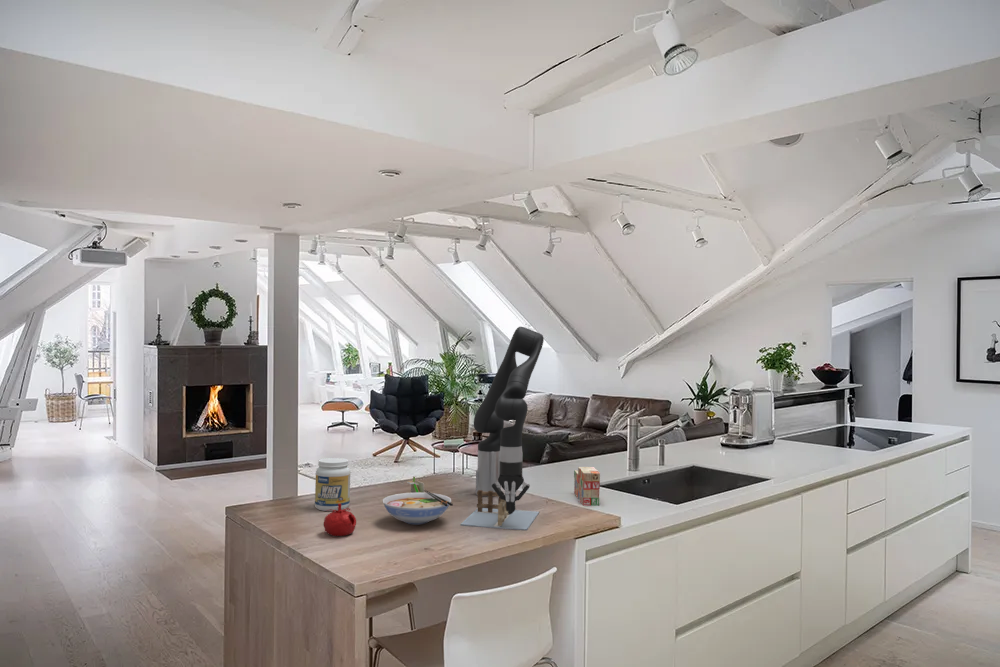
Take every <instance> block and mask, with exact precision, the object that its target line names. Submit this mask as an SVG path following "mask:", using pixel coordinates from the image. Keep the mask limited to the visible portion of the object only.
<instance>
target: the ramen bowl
mask: <svg viewBox="0 0 1000 667" xmlns="http://www.w3.org/2000/svg"><path fill="white" fill-rule="evenodd" d="M423 491H424V493H421V492H418V493H411V492H404V493H403V492H402V493H396V494H392V495H388V496H386V497H384V498H382V502H383V505H384V507H385V509H386V511H387V512H388V513H389V515H390V516H391V517H393V518H394V519H396V520H399V521H400V522H404V523H406V524H409V525H412V526H413V525H415V526H416V525H424V524H427V523H428V522H430V521H434V520H436V519H439V517H441V516H442V515H443V514H444V513H445V512H446V511H447V510H448V508H449V506H451V507H452V506H453V504H454V503H452V498H451V497H449V496H447V495H445V494H440V493H434V492H431V491H428V490H426V489H424V490H423Z"/></svg>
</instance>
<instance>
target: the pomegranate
mask: <svg viewBox="0 0 1000 667" xmlns="http://www.w3.org/2000/svg"><path fill="white" fill-rule="evenodd" d="M338 506H339V507H337V508H338V511H337V510H333V511H331V512H330V513H328V514H327V515H326V516H324V519H323V527H324V528H323V529H324V532H325V533H326V534H328V535H330V536H332V537H344V536H345V537H346V536H350V535H351V534H353V532H354V531H355V530H356V526H357V518H356V517H355V515H354V514H353V513H352V510H351V508H350V507H348V508H346V509H343V510H341V503H339V504H338ZM330 510H332V509H330ZM326 512H329V511H328V510H327V511H326Z"/></svg>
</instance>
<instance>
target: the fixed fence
mask: <svg viewBox="0 0 1000 667" xmlns="http://www.w3.org/2000/svg"><path fill="white" fill-rule="evenodd" d="M483 497H487V503H483ZM494 497H497V498H498V503H500V502H501V499H500V497H499V496H498V494H497V493H496V492H493V491H488V492H485V491H483V490H478V491H477V504H476V509H477V508H478V512H482V508H488V512H489V513H492V512H493V509H498V504H493V503H494ZM510 497H511V491H510ZM509 514H511V513H509ZM509 514H508V515H509Z"/></svg>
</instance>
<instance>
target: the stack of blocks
mask: <svg viewBox="0 0 1000 667" xmlns="http://www.w3.org/2000/svg"><path fill="white" fill-rule="evenodd" d="M573 472H574V473H573V474H574V475H573V477H574V482H573V483H574V484H573V485H574V489H573V490H574V491H573V492H574V494H575V496H576V497H577V499H578V501H580V504H581V505H582V506H587V507H588V506H591V507H592V506H593V507H594V506H600V486H601V483H600V482H601V472H600V471H599V470H598V469H596V468H595V467H594V466H578V468H577V470H576V469H575V470H574V471H573Z"/></svg>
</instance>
